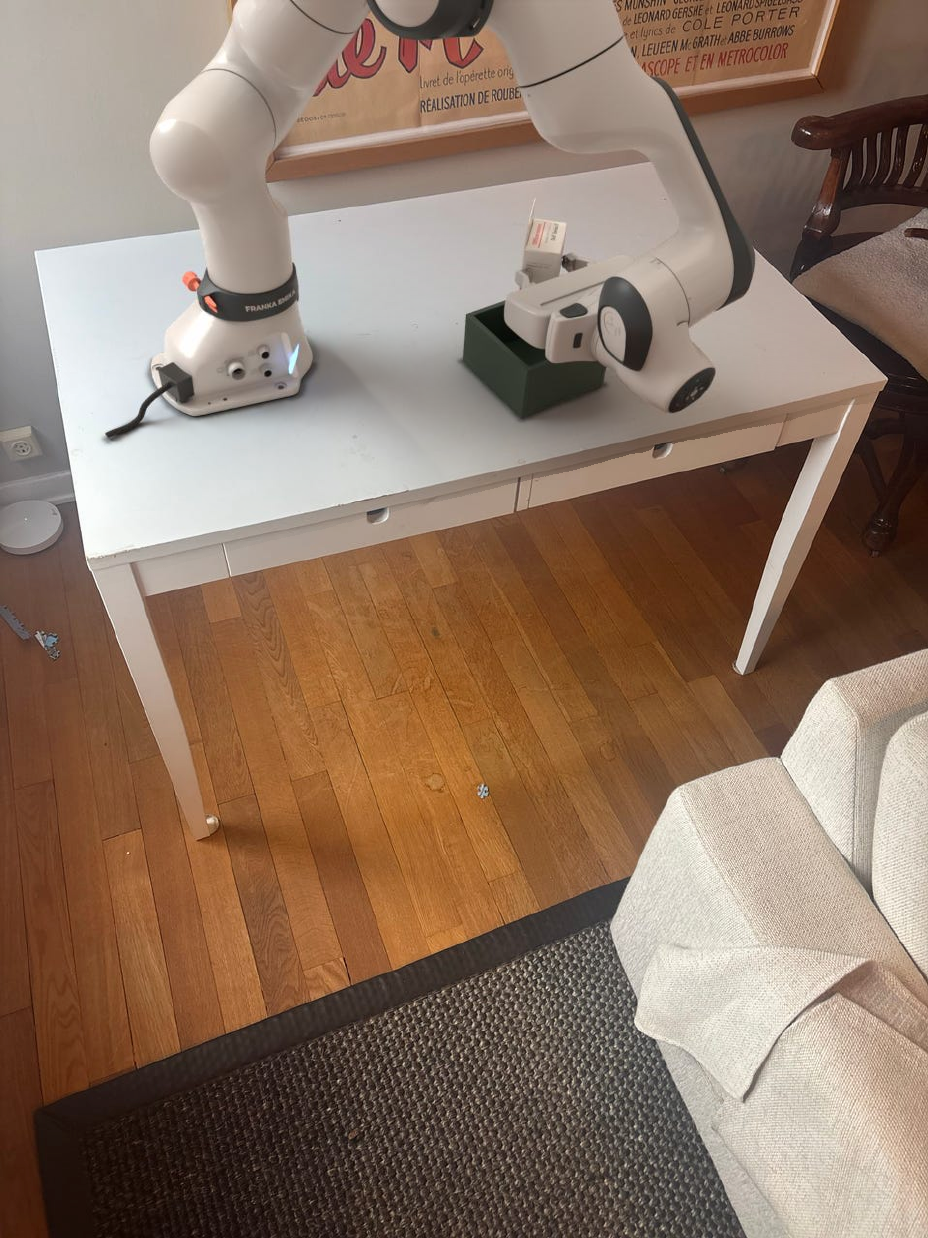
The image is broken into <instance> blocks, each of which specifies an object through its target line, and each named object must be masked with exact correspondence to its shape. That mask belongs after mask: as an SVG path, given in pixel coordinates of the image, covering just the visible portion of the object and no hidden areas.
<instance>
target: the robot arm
mask: <svg viewBox="0 0 928 1238" xmlns="http://www.w3.org/2000/svg"><path fill="white" fill-rule="evenodd" d="M232 9H233V10H232V13H231V14H232V15H231V18H232V20H231V23H230V26H229V29H228V32H227V34H226V36H225V38H224V40H223V42H222V45H221V46H220V48H219V49H218V51H217V52H216V54H215V55H214V56H213V58H212V59H211V60H210V61H209V63H208V64H206V66H205V67H204V68H203V69H202V70H201V71H200V72H199V74H197V75H196V76H195V77H194V78H193V80H191V82H189V83H188V84H187V85H186V86H185V87H184V88H182V89H181V91H180V92H178V93H177V94H176V95H175V96H174V97H173V98H172V99H171V100H170V101H168V102H167V104H166V106H165V107H164V109H163V111H162V113H161V115H160V116H159V118H158V120H157V122H156V124H155V126H154V128H153V130H152V132H151V135H150V138H149V146H148V147H149V155H150V156H149V157H150V161H151V163H152V165H153V166H152V167H153V168H154V170H155V172H156V174H157V175H158V177H159V179H160V180H161V182H162V183H163V184H164V185H165V186H166V187H167V188H168V189H169V190H170V191H171V192H172V193H173V194H174V195H176V196H177V197H179V198H180V199H182V200H184V201H185V202H188V203H189V205H190V207H191V209H192V211H193V213H194V216H195V218H196V221H197V225H198V227H199V233H200V237H201V242H202V249H203V253H204V258H205V259H204V260H205V264H206V268H205V270H204V274H203V277H202V279H200V278H199V277H198V275H197V273H196V272H194V271H192V270H189V271H186V272H185V273H183V276H182V277H181V278H182V280H181V281H182V283H183V284H184V286H185V287H187V289H188V290H189V291H190V292H195V293H196V296H197V298H196V299H195V300H194V301H193V302H192V303H191V304H190V305H189V306H188V307H187V308H186V309H185V310H184V311H183V312H182V313H181V314H180V315H179V316H178V317H177V318H176V319H175V320H174V321H173V323H171V324H170V325H169V326H168V327H167V329H166V331H165V334H164V343H163V345H164V346H163V347H164V349H163V351H162V352H160V353H158V354H155V356H153V357H152V360H151V364H150V370H151V377H152V380H153V383H154V385H155V387H156V388H157V389H156V390H155V391H153V392H152V393H150V395H149V396H147V397H146V399H144V400H143V402H142V403H141V405H140V407H139V410H138V414H137V415H136V417H135V418H133V420H130V421H129V422H128V423H126V424H124V425H121V426H119V427H115V428H113V429H111V430H110V429H109V430H108V431H107V432H105V436H106V438H107V439H111V438H112V437H115V436H118V435H121V434H123V433H126V432H128V431H130V430H132V429H134V428H135V427H136V426H138V424H140V423H141V422H142V421H143V420H144V418H145V416H146V412H147V409H148V408H149V406H150V405H151V404H152V403H153V402H154V401H155V400H156V399H158V398H159V397H161V396H162V397H163V399H165V401H167V402H168V403H169V404H170V406H171V407H174V408H175V409H176V410H178V411H180V412H181V413H184V414H186V415H189V416H192V417H198V416H202V415H208V414H213V413H218V412H222V411H227V410H231V409H236V408H240V407H246V406H251V405H254V404H260V403H264V402H268V401H273V400H277V399H282V398H286V397H291V396H294V395H297V393H299V390H300V388H301V381H302V379H303V377H305V375H306V374H307V372H308V371H309V370H310V368H311V366H312V363H313V360H314V354H313V349H312V347H311V345H310V343H309V340H308V338H307V335H306V333H305V329H304V326H303V323H302V318H301V313H300V309H299V303H298V302H299V301H300V293H299V292H300V291H299V290H300V289H299V287H300V286H299V279H298V272H297V268H296V265H295V262H293V256H292V255H293V254H292V244H291V243H292V242H291V234H290V233H291V232H290V225H289V216H288V212H287V210H286V208H285V206H284V205H283V204H282V203H281V201H280V200H279V199H277V198H276V197H274V196H273V195H271V193H270V190H269V187H268V182H267V178H266V170H267V164H268V160H269V157H270V156H271V155H272V154H273V152H275V150H276V149H277V148H278V147H279V146H280V144H281V143H282V142H283V141H284V139H286V137H287V136H288V135H289V133H291V131H292V130H293V128H294V126H295V125H296V123H297V122H298V120H299V119H300V117H301V115H302V114H303V113H304V111H305V110H306V108H307V106H308V105H309V103H310V101H311V100H312V99H313V97H314V95H315V93H316V92H317V90H318V89H319V86H320V85H321V84H322V82H323V80H324V79H325V77H326V76H327V75H328V73H329V71H330V70H331V69H332V67H333V66H334V65H335V63H336V61H337V60H338V59H339V57H340V56H341V55H342V53H343V52H344V50H345V49H346V47H347V46H348V45H349V43H350V42H351V40H352V39H353V38H354V36H355V34H356V33H357V31H358V30H359V29H360V28H361V27H362V26H361V25H363V23H364V22H365V20H366V19H367V17H368V16H369V15H370V13H372V15H373V16H374V17H375V19H376V20H377V22H379V24H381V26H382V27H383V28H385V30H387V31H388V32H390V33H391V34H393V35H395V36H397V37H399V38H401V39H404V40H408V41H409V40H410V41H417V42H418V41H419V42H420V41H422V42H423V41H424V42H426V41H438V40H444V39H446V40H447V39H457V38H472V37H476V36H477V35H478V34H480V33H481V31H482V30H483V29H484V28H485V29H487V30H488V31H491V33H493V35H494V36H496V38H497V39H498V41H499V42H500V44H501V46H502V48H503V49H504V52H505V54H506V56H507V59H508V62H509V66H510V67H511V70H512V73H513V76H514V79H515V82H516V85H517V88H518V90H519V93H520V95H521V99H522V102H523V104H524V107H525V108H526V112H527V114H528V116H529V119H530V121H531V123H532V125H533V126H534V128H535V130H536V132H538V134H539V136H540V137H541V138H543V139H544V140H545V141H546V142H547V143H549V144H550V145H551V146H553V147H555V148H556V149H559V150H560V151H561V150H562V151H564V152H567V153H570V154H571V153H572V154H578V155H579V154H581V155H591V154H592V155H593V154H605V153H612V152H619V151H629V150H631V151H632V150H634V151H637V152H639V153H641V154H643V155H644V156H645V157H646V158H647V159H648V160H649V161H650V163H651V164H652V167H653V168H654V170H655V172H656V174H657V176H658V179H659V180H660V182H661V185H662V186H663V188H664V191H665V192H666V195H667V196H668V199H669V200H670V202H671V205H672V207H673V209H674V211H675V213H676V215H677V217H678V226H677V228H676V231H675V232H674V234H673V235H672V236H671V237H669V238H668V239H667V240H665V241H663V242H662V243H660V244H659V245H657V246H656V247H654V248H652V249H651V250H649V251H647V252H646V253H645V254H642V255H640V256H639V257H637V258H636V259H635V258H634V257H633V256H631V255H627V254H619V255H615V256H613V257H610V258H607V259H604V260H601V261H597V262H596V261H595V260H593V259H590V258H589V259H588V258H584V257H581V256H580V257H579V256H578V255H577V254H575V253H574V252H572V251H571V252H569V253H566V254H563V255H562V262H561V268H563V269H565V271H566V272H567V273H564V274H562V275H561V274H560V275H559V276H558V277H555V278H553V279H550V280H547V281H544V282H541V283H538V284H536V283H534V282H532V281H531V280H532V276H533V273H531V272H530V271H528V269H527V268H525V269H522V268H521V269H519V270H516V271H515V275H514V282H515V284H516V285H517V286H519V288H520V287H521V288H522V289H521V290H519V289H518V290H516V291H513V292H510V293H508V294H507V295H506V297H505V300H506V302H505V308H504V320H505V322H506V324H507V325H508V326H509V327H510V328H511V329H512V330H513V331H514V332H515V333H516V334H517V335H519V336H520V337H521V338H522V339H523V340H525V341H526V342H527V343H529V344H530V345H532V346H534V347H536V348H539V349H545V356H546V358H547V359H548V360H549V361H551V362H552V363H563V362H571V361H599V362H600V363H601V364H602V365H604V366H605V367H606V368H608V369H610V370H613V371H614V373H615V374H616V375H617V377H618V379H619V381H621V383H622V384H624V386H626V387H627V388H628V389H629V390H631V391H632V393H634V394H635V395H636V396H638V397H639V398H641V399H642V400H644V401H645V402H646V403H647V404H649V405H651V406H652V407H654V408H656V409H657V410H659V411H661V412H664V413H667V414H675V413H679V412H681V411H684V410H685V409H686V408H688V407H690V406H691V405H692V404H694V403H695V402H697V401H698V400H699V399H700V398H702V396H703V395H704V394H705V392H707V391H708V390H709V388H710V387H711V385H712V383H713V381H714V378H715V376H716V373H717V370H716V367H715V364H714V363H713V362H712V361H711V359H710V358H709V357H708V356H707V355H706V354H705V353H704V351H703V350H702V349H701V348H700V347H699V346H698V345H697V344H696V343H695V342H694V341H692V338H691V336H690V331H689V329H690V328H692V327H694V326H695V325H696V324H698V323H699V322H701V321H702V320H704V319H706V318H707V317H708V316H710V315H712V313H713V314H714V313H715V312H717V311H720V310H721V309H723V308H725V307H727V306H729V305H730V304H732V303H735V302H736V301H738V300H740V299H741V298H743V297H745V295H746V294H747V293H748V291H749V289H750V287H751V284H752V281H753V278H754V273H755V267H756V252H755V248H754V245H753V242H752V240H751V237H750V236H749V234H748V233H747V231H746V230H745V228H744V227H743V226H742V224H741V222H740V220H739V219H738V218H737V217H736V215H735V214H734V212H733V210H732V209H731V206H730V204H729V203H728V200H727V199H726V196H725V193H724V192H723V189H722V187H721V185H720V183H719V180H718V179H717V176H716V174H715V172H714V170H713V167H712V166H711V165H712V164H711V163H710V161H709V158H708V156H707V154H706V152H705V150H704V147H703V145H702V143H701V141H700V139H699V136H698V134H697V132H696V130H695V128H694V126H693V124H692V121H691V120H690V118H689V116H688V113H687V112H686V109H685V108H684V106H683V104H682V102H681V100H680V99H679V97H678V95H677V93H675V91H674V89H673V88H672V86H670V84H668V82H667V81H666V80H664V79H663V78H662V77H658V76H654V75H652V76H651V75H648V73H647V72H646V71H644V69H643V68H642V67H641V65H640V64H639V63H638V61H637V60H636V58H635V57H634V55H633V53H632V51H631V49H630V46H629V44H628V42H627V39H626V35H625V33H624V30H623V26H622V23H621V19H620V17H619V14H618V11H617V8H616V5H615V3H614V0H237V1H236V3H235V4H234V6H233V8H232Z"/></svg>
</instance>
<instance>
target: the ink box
mask: <svg viewBox="0 0 928 1238" xmlns="http://www.w3.org/2000/svg"><path fill="white" fill-rule="evenodd" d="M536 200H537V197H536V196H535V197H534V200H533V204H532V207H531V212H530V214H529V219H528V224H527V229H526V234H525V241H524V245H523V253H522V264H521V270H522V269H525V268H527V269H528V271H530V272H531V273H533V276H532V280H531V281H532V282H534V283H536V284H538V283H541V282H544V281H547V280H550V279H553V278H555V277H558V276H561V269H562V265H561V263H562V260H563V259H562V257H563V255H564V247H565V242H566V236H567V228H568V223H567V222H563V221H555V220H547V219H541V218H534V214H535V213H534V212H535V207H536V202H537V201H536ZM521 289H522V288H521V287H520V286H519V289H518V290H521Z"/></svg>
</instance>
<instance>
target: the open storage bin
mask: <svg viewBox="0 0 928 1238" xmlns="http://www.w3.org/2000/svg"><path fill="white" fill-rule="evenodd" d="M505 302H506V299H505V300H502V301H498V302H496V303H493V304H490V305H487V306H485V307H482V308H479V309H477V310H473V311H470V312H467V313H466V314H465V317H464V318H465V319H464V335H463V351H462V362H463V363H464V364H465V365H466V366H467V368H469V369H470V370H471V371H472V372H473V373H474V374H475V375H476V376H477V377H478V378H479V379H480V381H482V382H483V383H484V384H485V385H486V386H487V387H488V388H489V389H490V390H492V392H493V393H494V394H495V395H497V397H498V398H500V399H501V400H502V402H504V403H505V404H506V405H507V406H508V408H510V409H511V410H512V411H513V412H514V413H515V414H516V415H517V416H518V417H519V418H520V419H524V418H526V417H528V416H531V415H534V414H536V413H538V412H541V411H543V410H546V409H548V408H551V407H552V406H555V405H557V404H559V403H562V402H565V401H567V400H569V399H572V398H574V397H577V396H579V395H582V394H584V393H586V392H590V391H592V390H593V389H597V388H599V387H601V386H603V385H604V379H605V377H606V376H605V375H606V372H607V371H606V370H607V367H605V366H604V365H602V364H601V363H600V362H599V361H571V362H563V363H552V362H551V361H549V360H548V359H547V358H546V356H545V349H539V348H536V347H534V346H532V345H530V344H529V343H527V342H526V341H525V340H523V339H522V338H521V337H520V336H519V335H517V334H516V333H515V332H514V331H513V330H512V329H511V328H510V327H509V326H508V325H507V324H506V322H505V320H504V308H505Z"/></svg>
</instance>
